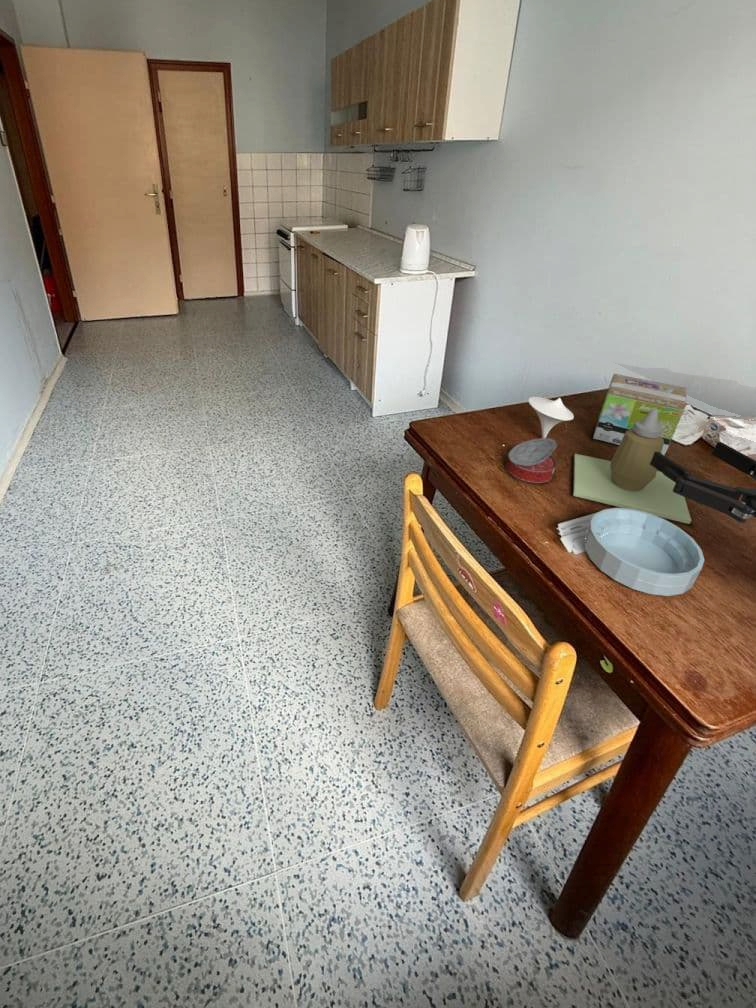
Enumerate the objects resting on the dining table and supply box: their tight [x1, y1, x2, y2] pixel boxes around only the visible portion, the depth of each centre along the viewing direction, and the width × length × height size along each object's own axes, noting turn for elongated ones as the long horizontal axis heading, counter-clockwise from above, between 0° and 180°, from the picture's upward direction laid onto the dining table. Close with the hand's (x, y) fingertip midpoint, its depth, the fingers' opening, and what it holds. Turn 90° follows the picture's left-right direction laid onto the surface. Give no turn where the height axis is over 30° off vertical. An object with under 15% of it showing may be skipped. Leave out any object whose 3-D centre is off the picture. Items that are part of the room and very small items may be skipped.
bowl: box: [584, 507, 705, 597], centre depth 82 cm, size 16×16×5 cm
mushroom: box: [527, 396, 575, 438], centre depth 115 cm, size 10×11×12 cm
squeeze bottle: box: [610, 408, 664, 491], centre depth 96 cm, size 8×8×18 cm
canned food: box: [505, 437, 558, 484], centre depth 106 cm, size 11×10×10 cm
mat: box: [572, 453, 692, 525], centre depth 101 cm, size 20×16×1 cm
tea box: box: [592, 373, 687, 456], centre depth 114 cm, size 15×10×15 cm, turn 55°
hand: (685, 452), depth 87 cm, fingers open, 13 cm apart
